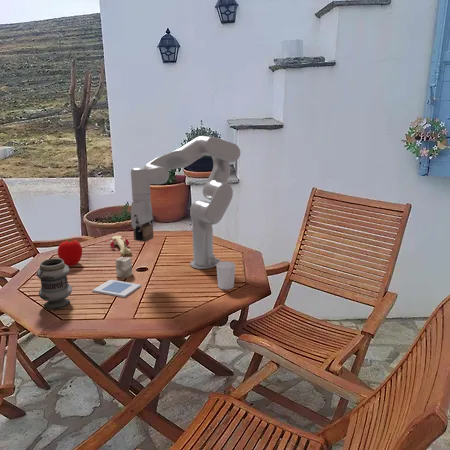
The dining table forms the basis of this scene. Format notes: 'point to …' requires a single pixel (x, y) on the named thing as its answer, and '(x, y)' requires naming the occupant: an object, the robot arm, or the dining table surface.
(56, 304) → the apothecary jar
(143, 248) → the dining table surface
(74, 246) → the tomato
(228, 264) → the white cup
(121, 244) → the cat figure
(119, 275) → the ash pillar
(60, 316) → the dining table surface
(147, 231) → the walnut cube
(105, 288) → the board
